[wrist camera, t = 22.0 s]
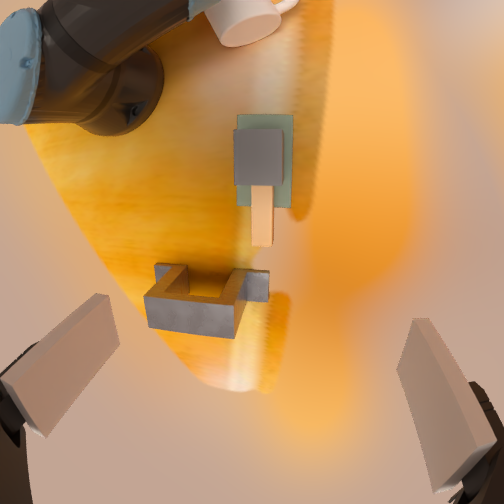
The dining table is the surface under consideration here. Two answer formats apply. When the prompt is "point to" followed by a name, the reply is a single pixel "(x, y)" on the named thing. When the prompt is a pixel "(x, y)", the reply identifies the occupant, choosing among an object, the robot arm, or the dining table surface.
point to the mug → (246, 19)
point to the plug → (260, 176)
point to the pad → (286, 124)
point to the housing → (202, 301)
